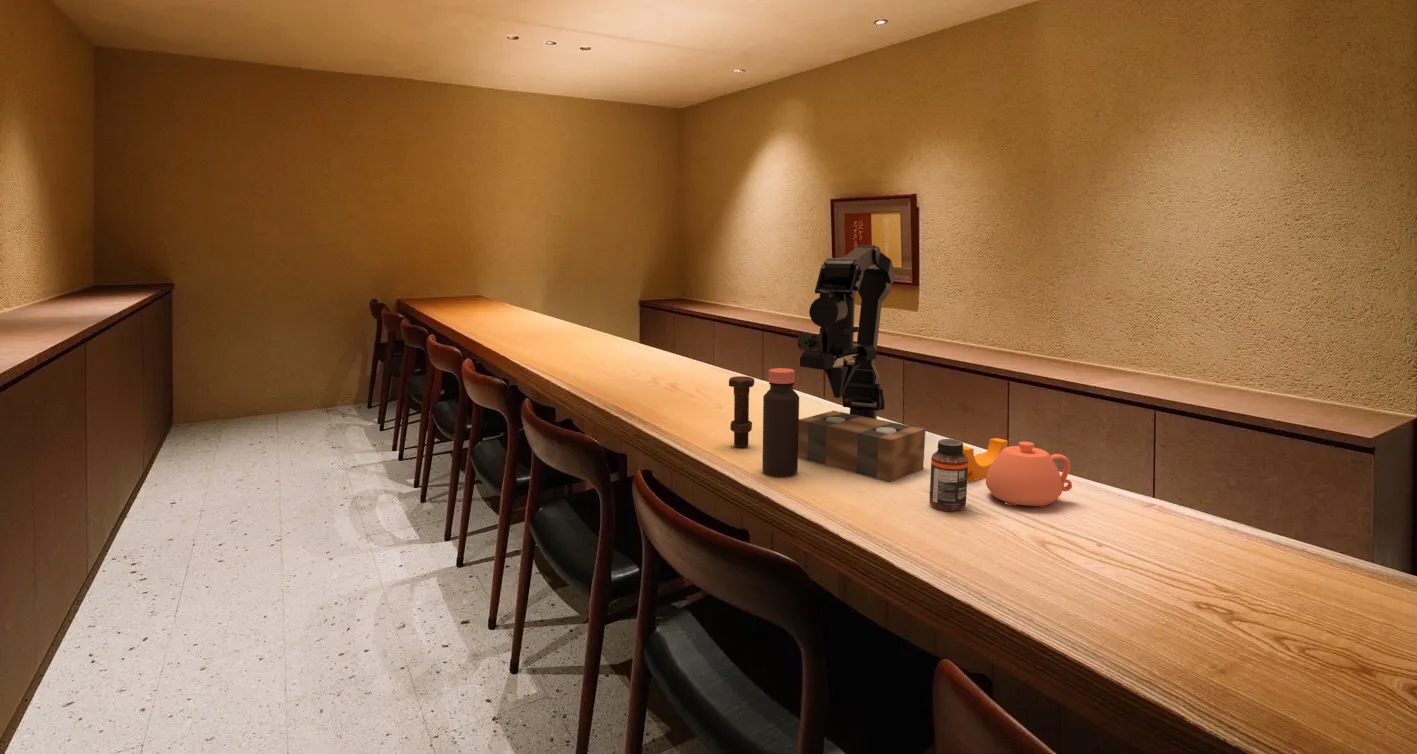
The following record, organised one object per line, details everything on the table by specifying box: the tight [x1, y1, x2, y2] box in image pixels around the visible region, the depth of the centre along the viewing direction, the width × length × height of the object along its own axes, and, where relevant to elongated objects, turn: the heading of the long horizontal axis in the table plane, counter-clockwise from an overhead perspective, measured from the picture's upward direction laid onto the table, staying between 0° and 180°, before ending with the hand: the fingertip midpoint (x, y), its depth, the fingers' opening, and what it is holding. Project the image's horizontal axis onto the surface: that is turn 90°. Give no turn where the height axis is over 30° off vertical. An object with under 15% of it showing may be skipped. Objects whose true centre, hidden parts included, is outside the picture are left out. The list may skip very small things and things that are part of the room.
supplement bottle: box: [928, 438, 968, 512], centre depth 129 cm, size 6×6×11 cm
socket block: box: [798, 410, 926, 483], centre depth 153 cm, size 12×22×8 cm, turn 44°
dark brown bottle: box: [761, 367, 800, 478], centre depth 146 cm, size 7×7×20 cm
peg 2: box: [876, 427, 896, 434], centre depth 149 cm, size 4×4×7 cm
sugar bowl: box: [985, 441, 1073, 508], centre depth 132 cm, size 12×14×10 cm
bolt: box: [728, 375, 755, 448], centre depth 165 cm, size 6×5×15 cm
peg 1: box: [826, 417, 845, 423], centre depth 158 cm, size 4×4×7 cm
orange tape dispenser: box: [963, 437, 1009, 482], centre depth 146 cm, size 12×4×6 cm, turn 123°
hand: (837, 397), depth 157 cm, fingers closed
